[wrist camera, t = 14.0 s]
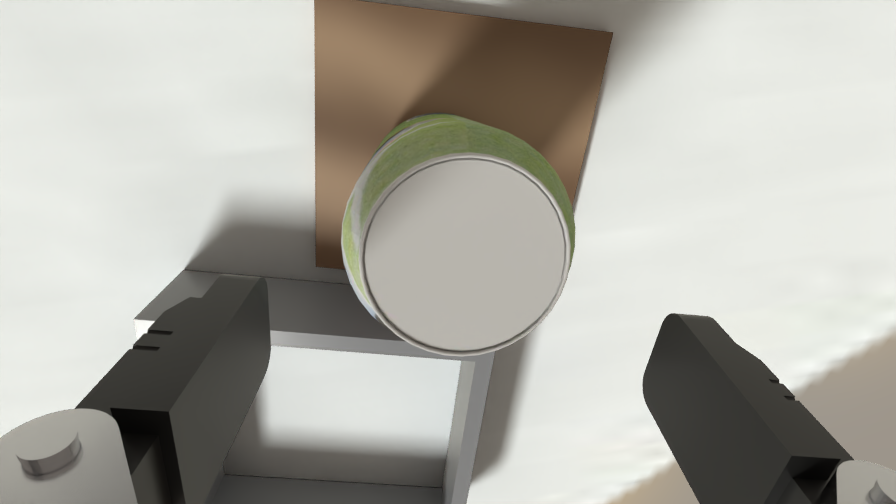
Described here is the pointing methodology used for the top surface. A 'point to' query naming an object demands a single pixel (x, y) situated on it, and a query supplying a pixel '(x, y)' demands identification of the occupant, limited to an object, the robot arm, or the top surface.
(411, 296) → the beverage can
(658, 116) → the top surface
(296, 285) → the bin
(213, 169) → the top surface
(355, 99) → the pad
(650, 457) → the top surface
